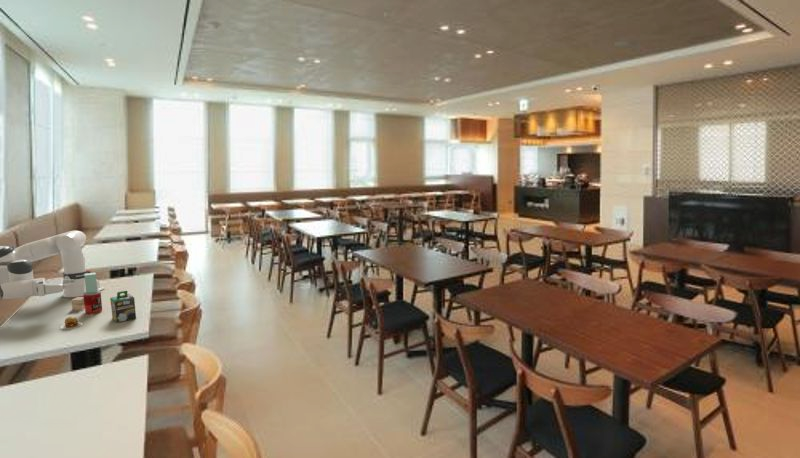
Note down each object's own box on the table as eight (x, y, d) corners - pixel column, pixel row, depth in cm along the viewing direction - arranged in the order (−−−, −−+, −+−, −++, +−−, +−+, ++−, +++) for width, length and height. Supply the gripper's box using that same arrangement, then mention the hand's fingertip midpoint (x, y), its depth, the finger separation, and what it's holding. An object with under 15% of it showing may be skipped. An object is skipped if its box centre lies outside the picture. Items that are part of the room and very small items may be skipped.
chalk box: (131, 314, 241) (129, 287, 239) (136, 318, 235) (134, 290, 233) (111, 318, 235) (109, 291, 233) (116, 323, 228) (113, 294, 226)
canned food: (94, 314, 242) (92, 294, 240) (81, 313, 243) (79, 293, 242) (106, 310, 249) (104, 290, 248) (93, 309, 251) (91, 289, 249)
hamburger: (78, 322, 232) (77, 311, 231) (91, 325, 226) (90, 315, 226) (51, 329, 221) (50, 318, 220) (65, 333, 216) (63, 322, 215)
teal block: (86, 291, 245) (84, 273, 244) (97, 290, 248) (95, 272, 247) (86, 293, 241) (84, 275, 240) (97, 292, 244) (95, 274, 243)
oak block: (77, 307, 253) (76, 297, 252) (87, 307, 254) (85, 296, 253) (72, 310, 248) (71, 300, 248) (82, 310, 249) (81, 299, 248)
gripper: (43, 288, 240) (75, 284, 248) (40, 297, 224) (74, 293, 232) (41, 276, 239) (73, 273, 247) (38, 284, 223) (73, 280, 231)
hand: (74, 282), depth 239 cm, fingers open, 8 cm apart
